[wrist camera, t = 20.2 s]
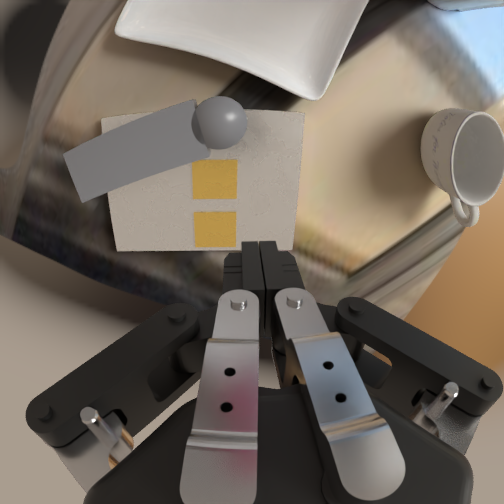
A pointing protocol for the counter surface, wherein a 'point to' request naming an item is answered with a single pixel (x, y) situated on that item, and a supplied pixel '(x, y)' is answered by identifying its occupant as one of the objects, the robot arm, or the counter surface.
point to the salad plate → (252, 35)
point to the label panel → (216, 192)
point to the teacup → (464, 158)
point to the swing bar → (155, 144)
